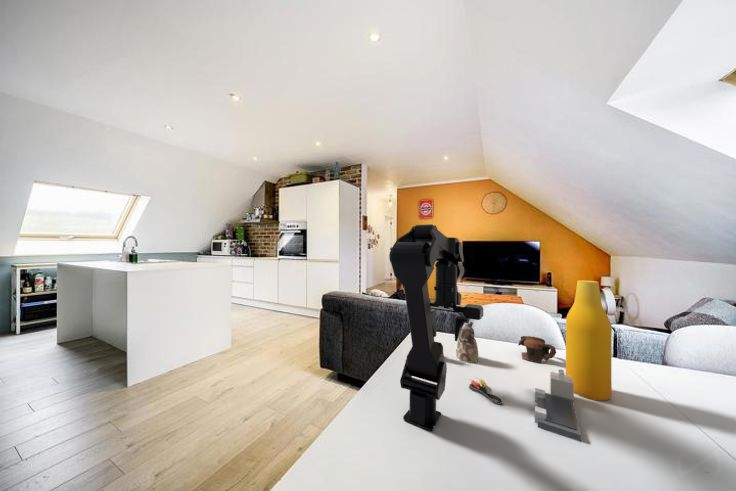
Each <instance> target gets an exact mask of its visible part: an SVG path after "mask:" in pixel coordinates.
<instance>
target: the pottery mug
mask: <svg viewBox="0 0 736 491" xmlns="http://www.w3.org/2000/svg"><path fill="white" fill-rule="evenodd" d="M518 346H522V347H525V350H526V352H525V351H524V352H521V359H522V360H525V361H532V362H535V363H539V364H542V363H543V360H544V361H546V362H547V361H548V360H549V359H553V358H554V357H555V356H556V354H557V350H556V348H555V347H554V346H553V345H552V344H548V343H547V344H546V340H545V339H544V338H540V337H537V336H531V335H530V336H529V335H528V336H527V335H524V336H521V337H520V340H519V341H518Z"/></svg>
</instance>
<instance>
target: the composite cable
mask: <svg viewBox="0 0 736 491" xmlns="http://www.w3.org/2000/svg"><path fill="white" fill-rule="evenodd" d="M469 380H470V383H469V386H468V388H469V390H471V391H473V392H475V393H477V394H480V395H482V396H484V397H485V398H486V399H487V400H489V401H490V402H491V403H493V405H494V404H495V405H498V406H503V400H502V399H501V398H500V397H499V396H497V395H495V394H492V393H489V392H488V390H487V383H486V382H485V380H484V379H482V378H478V377H477V376H475V380H473V379H471V378H469Z"/></svg>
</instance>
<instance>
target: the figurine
mask: <svg viewBox="0 0 736 491" xmlns="http://www.w3.org/2000/svg"><path fill="white" fill-rule="evenodd" d="M473 324H474V323H473V321H469V323H468V322H465V323H464V325H463V327H462V329H461V332H460V335H459V338H458V340H457V344H456V349H455V353H456V359H457V360H458V359H459V361H461V362H464V363H469V364H471V363H476V362H478V360H479V349H478V348H479V347H478V343H477V339H476V338H475V330H474V328H472V327H473Z"/></svg>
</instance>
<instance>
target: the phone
mask: <svg viewBox="0 0 736 491" xmlns="http://www.w3.org/2000/svg"><path fill="white" fill-rule="evenodd" d="M534 391H535V392H534V402H536V403H537V406H536V405H535V406H534V422H535V423H536V424H537V428H540V429H543V430H545V431H548V432H551V433H554V434H557V435H561V436H564V437H567V438H569V439H572V440H574V441H575V440H576V441H579V442H582V433H581V429H580V426H579V424H580V423H579V421H578V417H577V413H576V409H575V404H573V400H571V399H567V398H563V397H559V396H556V395H552V394H550V393H547V392H546V390H545V389H541V388H538V387H535V388H534Z"/></svg>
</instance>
